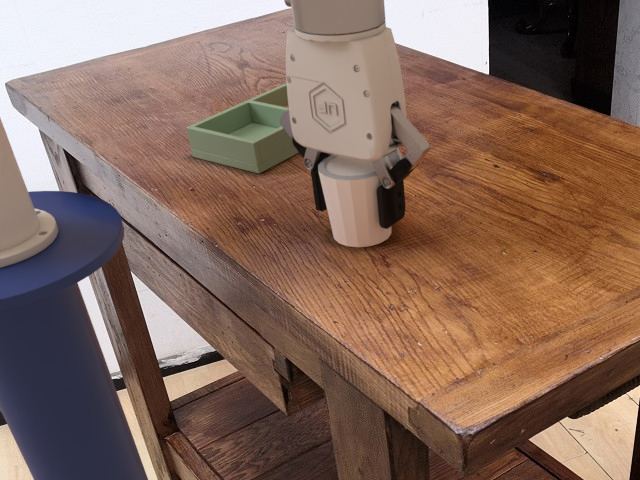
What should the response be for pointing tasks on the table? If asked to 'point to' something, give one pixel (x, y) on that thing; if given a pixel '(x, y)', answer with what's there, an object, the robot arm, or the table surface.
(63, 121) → the table surface
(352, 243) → the white tapered cup
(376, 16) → the robot arm
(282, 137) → the tray
